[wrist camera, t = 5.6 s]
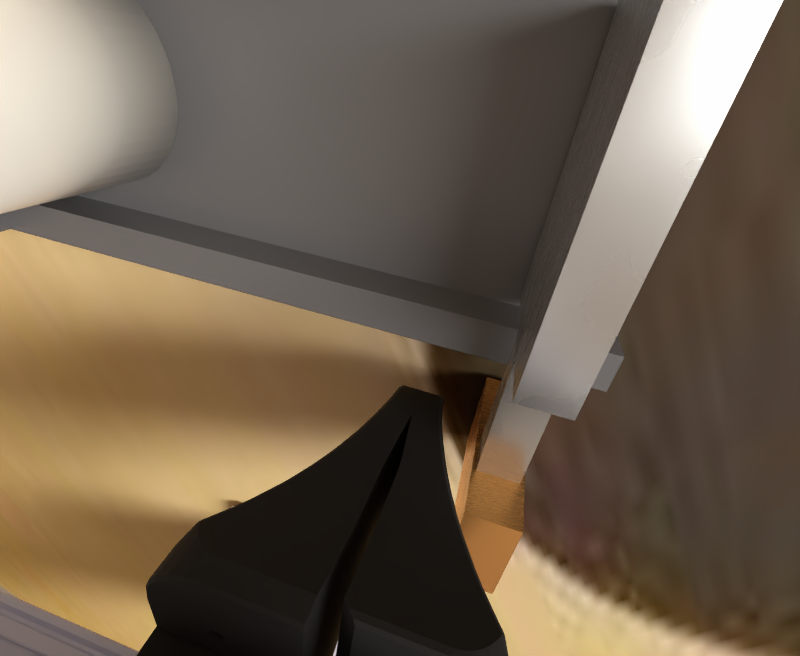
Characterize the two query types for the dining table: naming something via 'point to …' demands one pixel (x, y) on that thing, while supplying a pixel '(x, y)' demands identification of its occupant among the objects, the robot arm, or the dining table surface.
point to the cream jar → (80, 99)
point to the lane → (357, 158)
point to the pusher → (603, 236)
